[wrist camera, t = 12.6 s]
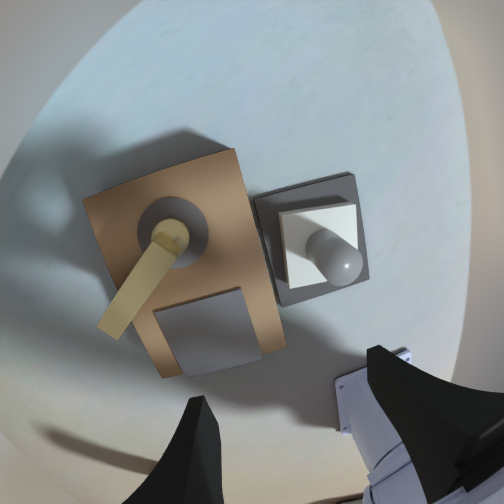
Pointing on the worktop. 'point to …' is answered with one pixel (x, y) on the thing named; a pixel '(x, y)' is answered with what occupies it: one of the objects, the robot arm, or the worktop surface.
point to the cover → (320, 245)
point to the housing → (193, 266)
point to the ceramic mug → (354, 502)
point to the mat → (299, 199)
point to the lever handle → (145, 275)
